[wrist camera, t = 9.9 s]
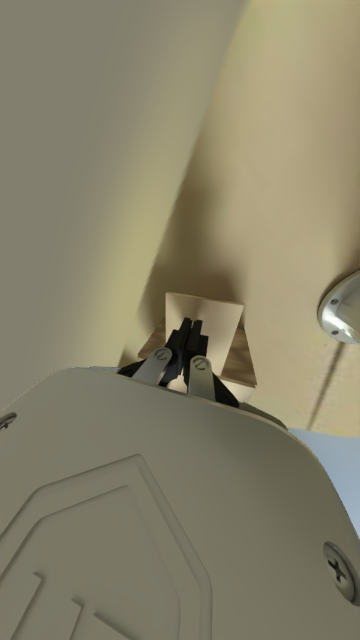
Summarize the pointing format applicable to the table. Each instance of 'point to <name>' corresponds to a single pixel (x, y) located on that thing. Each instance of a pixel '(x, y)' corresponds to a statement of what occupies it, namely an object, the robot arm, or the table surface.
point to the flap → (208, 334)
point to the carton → (236, 361)
